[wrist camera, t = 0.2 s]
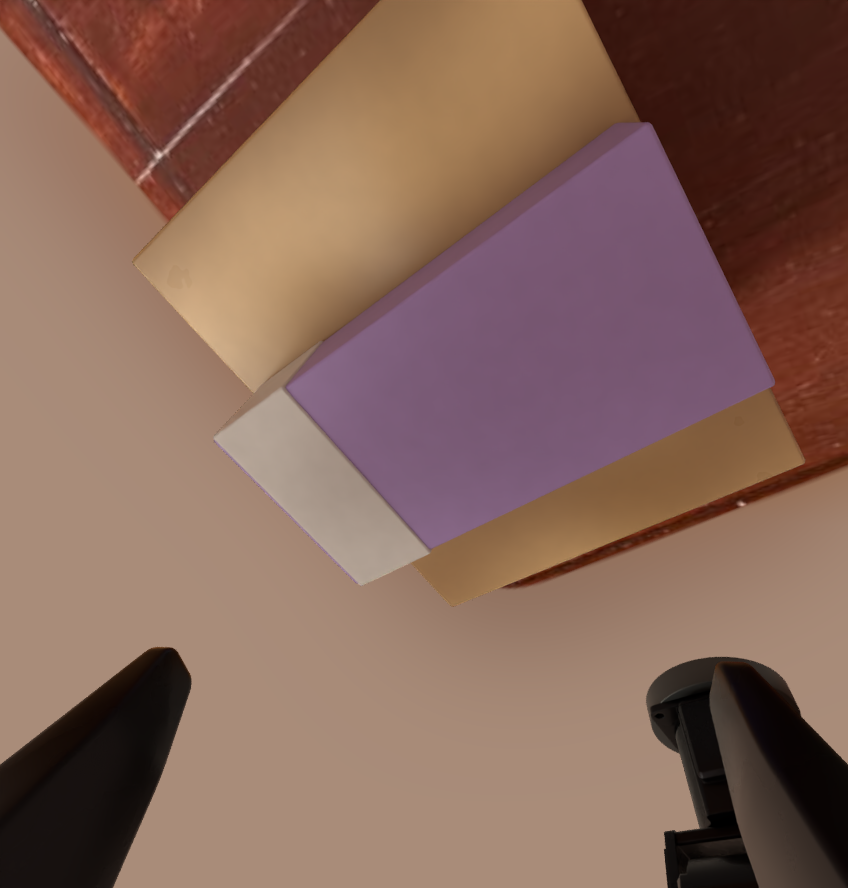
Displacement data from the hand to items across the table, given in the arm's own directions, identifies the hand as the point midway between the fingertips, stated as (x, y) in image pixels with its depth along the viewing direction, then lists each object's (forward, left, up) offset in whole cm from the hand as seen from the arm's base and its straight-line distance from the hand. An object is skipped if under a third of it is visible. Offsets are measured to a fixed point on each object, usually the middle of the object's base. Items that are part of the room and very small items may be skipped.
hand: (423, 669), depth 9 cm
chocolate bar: (+2, -2, -5) cm, 6 cm away
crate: (+2, -2, -14) cm, 15 cm away
